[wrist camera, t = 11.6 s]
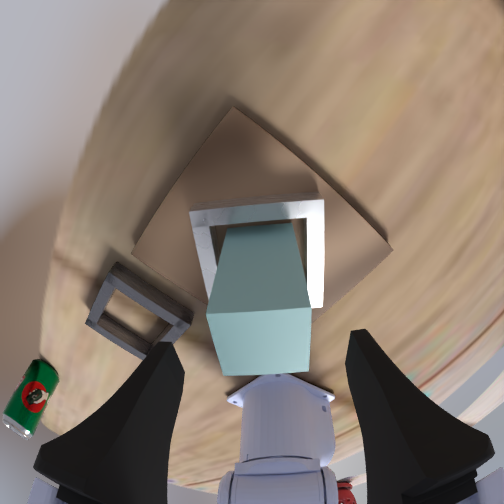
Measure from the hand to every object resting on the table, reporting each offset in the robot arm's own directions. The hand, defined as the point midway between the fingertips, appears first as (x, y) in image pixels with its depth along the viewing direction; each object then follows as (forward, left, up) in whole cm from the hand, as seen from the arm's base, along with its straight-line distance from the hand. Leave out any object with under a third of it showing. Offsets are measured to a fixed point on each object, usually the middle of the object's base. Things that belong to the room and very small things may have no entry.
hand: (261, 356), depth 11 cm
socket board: (0, 0, -10) cm, 10 cm away
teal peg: (0, 0, -9) cm, 9 cm away
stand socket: (+4, +12, -10) cm, 16 cm away
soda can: (+11, +35, -10) cm, 38 cm away
